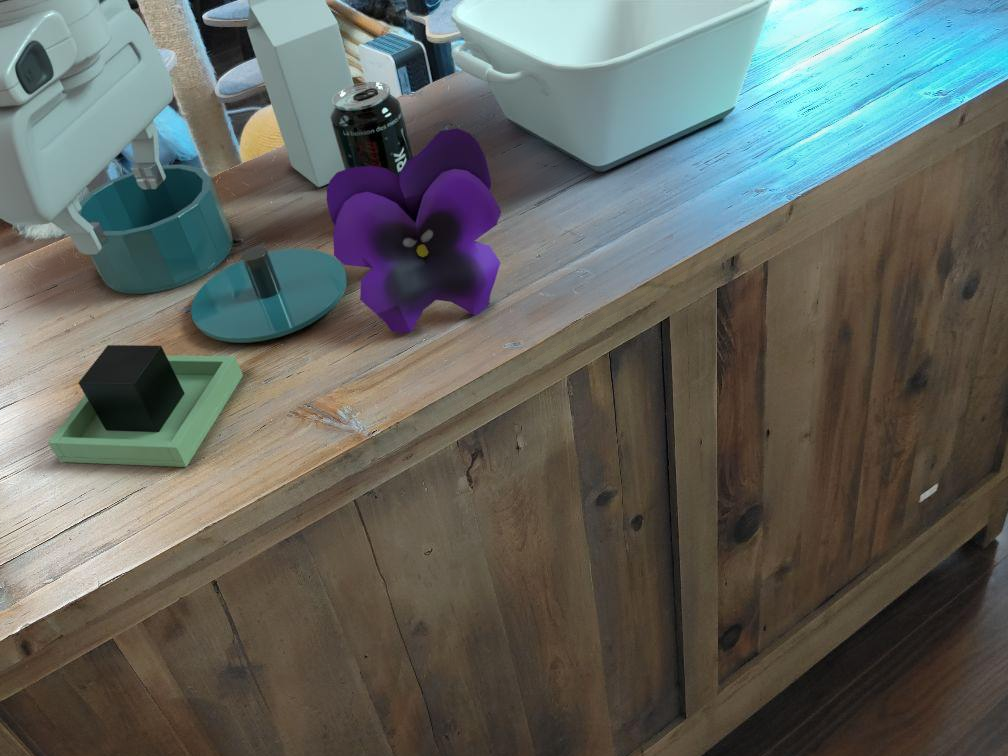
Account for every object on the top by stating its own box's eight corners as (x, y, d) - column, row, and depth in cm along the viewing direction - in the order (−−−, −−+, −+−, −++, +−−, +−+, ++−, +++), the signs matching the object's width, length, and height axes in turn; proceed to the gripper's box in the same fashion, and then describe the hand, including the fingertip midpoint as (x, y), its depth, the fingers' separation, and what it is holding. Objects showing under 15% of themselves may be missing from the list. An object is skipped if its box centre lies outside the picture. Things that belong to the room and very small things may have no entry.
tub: (559, 225, 97) (541, 92, 88) (427, 139, 114) (401, 20, 105) (821, 103, 107) (830, -28, 98) (665, 41, 124) (660, -76, 115)
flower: (361, 334, 98) (361, 348, 85) (312, 175, 93) (305, 164, 80) (504, 296, 99) (526, 303, 86) (464, 136, 94) (481, 120, 82)
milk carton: (375, 165, 111) (326, -21, 98) (318, 189, 109) (260, 2, 95) (347, 145, 116) (296, -36, 102) (292, 168, 114) (232, -13, 100)
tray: (59, 462, 82) (47, 442, 81) (125, 373, 90) (115, 354, 88) (186, 467, 79) (176, 447, 78) (243, 375, 87) (235, 355, 85)
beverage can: (435, 210, 102) (408, 92, 94) (376, 236, 100) (343, 118, 92) (405, 187, 107) (377, 72, 98) (348, 211, 105) (314, 96, 96)
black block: (105, 430, 83) (77, 382, 80) (133, 392, 86) (107, 344, 83) (159, 432, 82) (133, 383, 78) (185, 393, 85) (161, 345, 82)
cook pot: (77, 294, 101) (46, 236, 96) (139, 222, 109) (113, 166, 105) (199, 294, 97) (173, 234, 93) (253, 220, 106) (231, 162, 102)
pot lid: (168, 347, 92) (145, 299, 88) (232, 259, 101) (214, 212, 98) (317, 349, 88) (300, 299, 85) (369, 257, 98) (355, 209, 94)
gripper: (75, -27, 75) (151, 152, 85) (-96, 95, 61) (19, 290, 71) (149, -33, 73) (218, 149, 83) (-9, 91, 60) (96, 290, 70)
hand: (125, 215), depth 77 cm, fingers open, 8 cm apart
